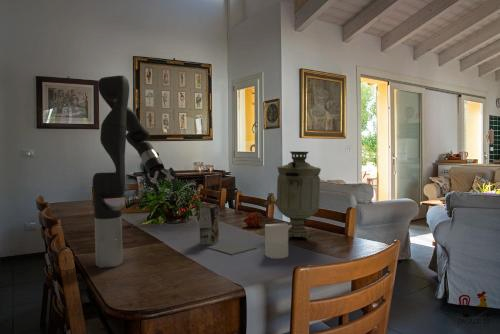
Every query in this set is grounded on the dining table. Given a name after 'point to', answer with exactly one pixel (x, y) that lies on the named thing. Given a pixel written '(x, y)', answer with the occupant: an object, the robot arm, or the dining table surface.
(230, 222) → the dining table surface
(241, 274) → the dining table surface
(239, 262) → the dining table surface
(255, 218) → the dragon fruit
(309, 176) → the samovar
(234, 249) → the mat
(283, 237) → the base with upright slab
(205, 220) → the coffee box
